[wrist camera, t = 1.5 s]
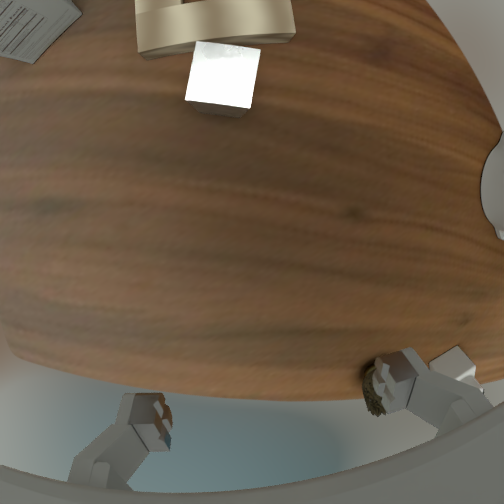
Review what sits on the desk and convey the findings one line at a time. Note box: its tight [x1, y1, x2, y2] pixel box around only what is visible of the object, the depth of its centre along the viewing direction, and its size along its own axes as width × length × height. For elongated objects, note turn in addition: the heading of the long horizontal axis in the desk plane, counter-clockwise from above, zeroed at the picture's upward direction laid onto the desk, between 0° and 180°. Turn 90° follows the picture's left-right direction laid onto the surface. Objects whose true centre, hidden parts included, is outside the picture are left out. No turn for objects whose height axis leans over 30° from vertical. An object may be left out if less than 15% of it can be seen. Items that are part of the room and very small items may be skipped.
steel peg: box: [185, 41, 261, 118], centre depth 25 cm, size 4×4×14 cm
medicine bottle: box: [429, 346, 484, 394], centre depth 45 cm, size 7×7×12 cm
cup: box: [362, 363, 387, 417], centre depth 45 cm, size 8×7×8 cm
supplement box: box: [0, 0, 82, 64], centre depth 17 cm, size 10×9×17 cm
